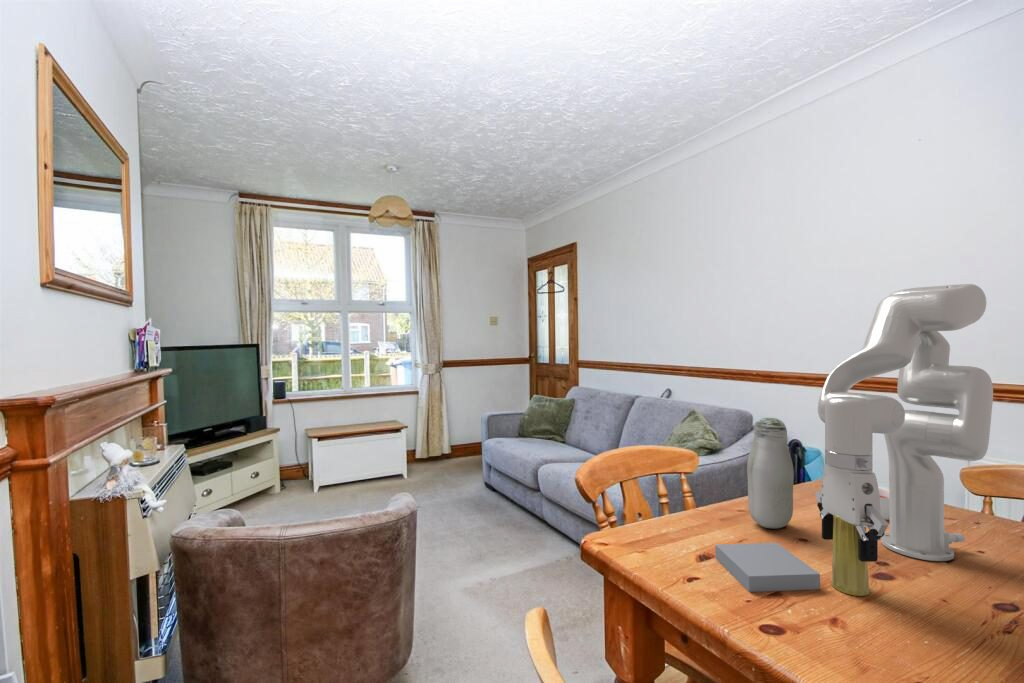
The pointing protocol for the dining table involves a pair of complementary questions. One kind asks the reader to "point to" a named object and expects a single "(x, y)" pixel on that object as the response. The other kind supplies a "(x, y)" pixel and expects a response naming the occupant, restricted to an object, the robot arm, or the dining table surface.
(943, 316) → the robot arm
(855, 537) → the vase
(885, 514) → the candle
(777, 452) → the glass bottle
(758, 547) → the plinth
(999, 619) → the dining table surface
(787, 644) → the dining table surface
